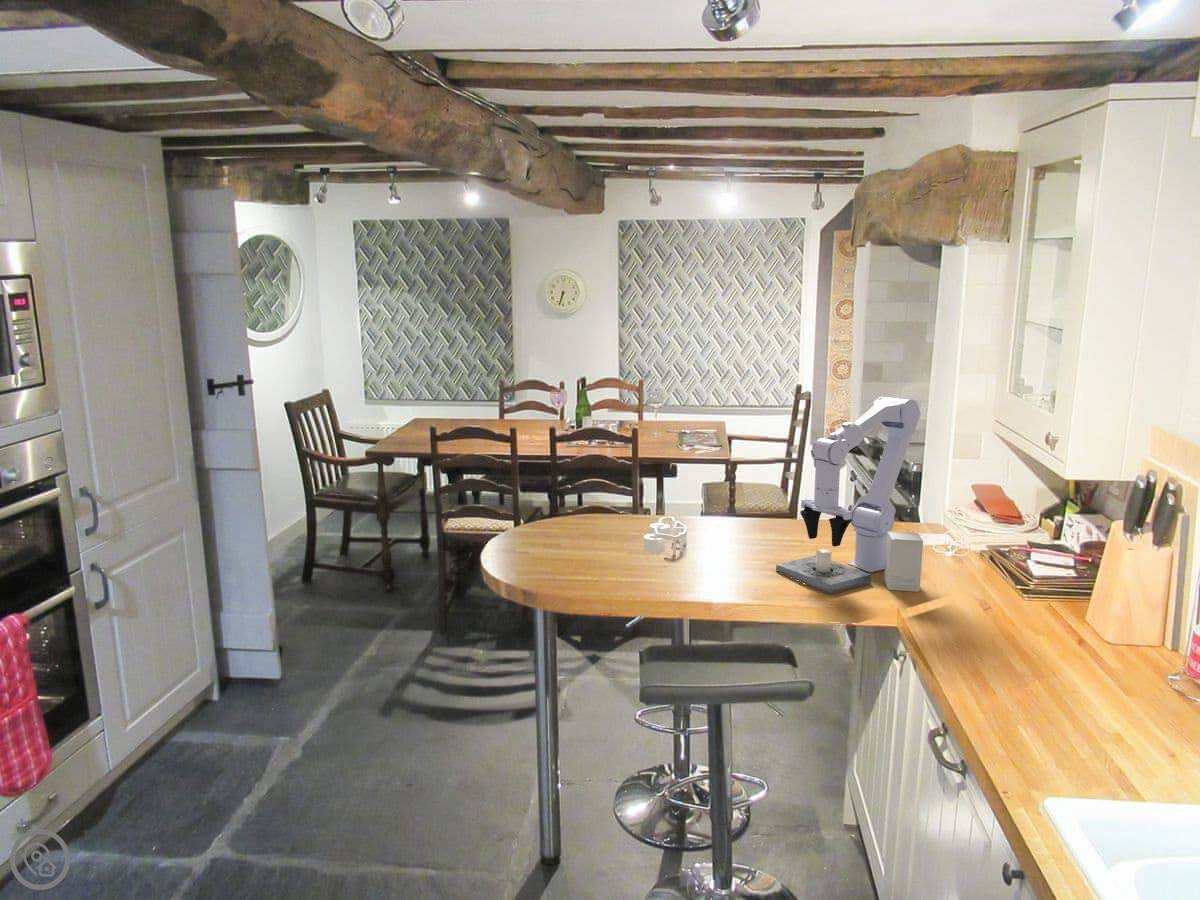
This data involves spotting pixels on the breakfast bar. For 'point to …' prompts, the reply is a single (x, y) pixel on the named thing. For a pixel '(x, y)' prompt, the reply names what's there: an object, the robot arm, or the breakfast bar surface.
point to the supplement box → (903, 561)
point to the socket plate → (825, 575)
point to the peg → (823, 561)
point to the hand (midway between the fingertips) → (824, 541)
